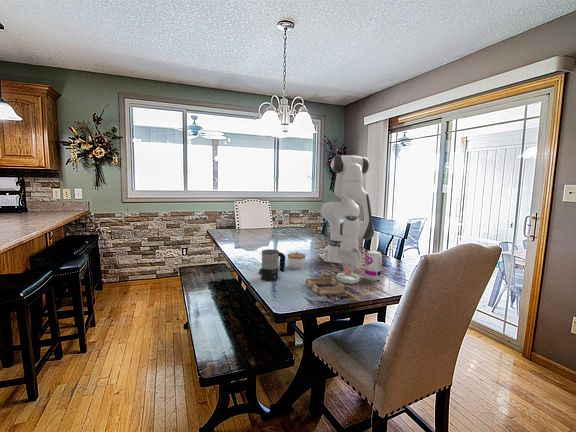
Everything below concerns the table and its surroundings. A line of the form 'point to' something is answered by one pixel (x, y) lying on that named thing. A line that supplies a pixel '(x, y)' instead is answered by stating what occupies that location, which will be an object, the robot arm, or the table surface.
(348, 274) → the ball
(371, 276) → the soda can
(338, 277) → the saucer
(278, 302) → the table surface
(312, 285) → the wooden square frame
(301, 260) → the lidded jar
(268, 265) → the milk frother
